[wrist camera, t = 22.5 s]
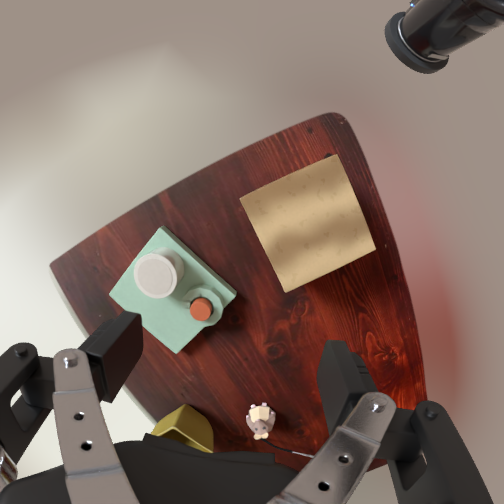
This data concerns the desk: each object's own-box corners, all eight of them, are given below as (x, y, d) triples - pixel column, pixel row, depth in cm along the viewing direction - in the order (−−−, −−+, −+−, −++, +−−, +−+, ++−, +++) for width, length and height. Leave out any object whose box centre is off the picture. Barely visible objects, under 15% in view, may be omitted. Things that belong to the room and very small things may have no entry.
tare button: (200, 293, 38) (198, 297, 37) (216, 307, 39) (214, 311, 37) (188, 306, 39) (185, 311, 37) (203, 319, 39) (201, 325, 38)
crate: (244, 195, 38) (239, 198, 29) (318, 161, 37) (337, 153, 27) (279, 267, 41) (285, 293, 31) (349, 233, 39) (376, 249, 29)
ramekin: (144, 244, 38) (133, 251, 34) (185, 249, 38) (177, 256, 34) (144, 285, 40) (133, 295, 36) (183, 291, 40) (176, 302, 36)
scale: (164, 225, 40) (156, 228, 36) (238, 293, 42) (237, 302, 38) (113, 290, 42) (103, 298, 39) (180, 349, 44) (175, 361, 41)
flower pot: (157, 410, 48) (144, 442, 39) (184, 392, 46) (173, 426, 37) (191, 434, 49) (183, 467, 40) (220, 418, 48) (214, 453, 39)
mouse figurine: (254, 432, 48) (253, 457, 42) (243, 405, 47) (242, 431, 40) (280, 428, 48) (282, 453, 41) (272, 401, 46) (273, 427, 40)
